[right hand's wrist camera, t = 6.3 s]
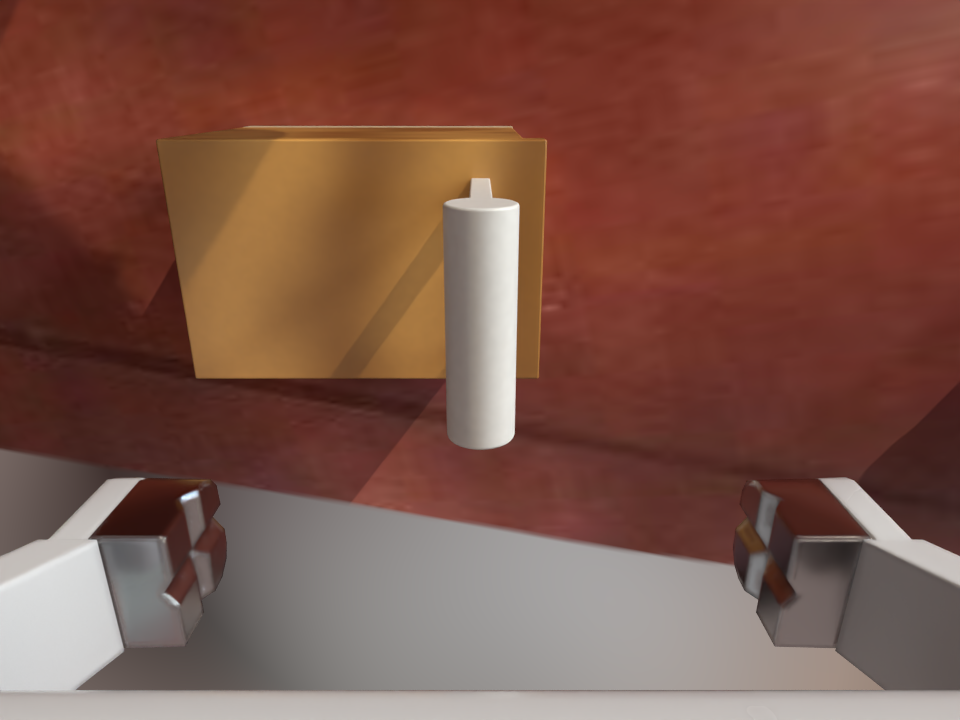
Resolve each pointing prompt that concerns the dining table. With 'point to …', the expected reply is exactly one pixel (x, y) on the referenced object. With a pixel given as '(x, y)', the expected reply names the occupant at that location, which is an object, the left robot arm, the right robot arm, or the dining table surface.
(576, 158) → the dining table surface
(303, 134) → the chest
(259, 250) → the lid
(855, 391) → the dining table surface
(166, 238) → the dining table surface
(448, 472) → the dining table surface
